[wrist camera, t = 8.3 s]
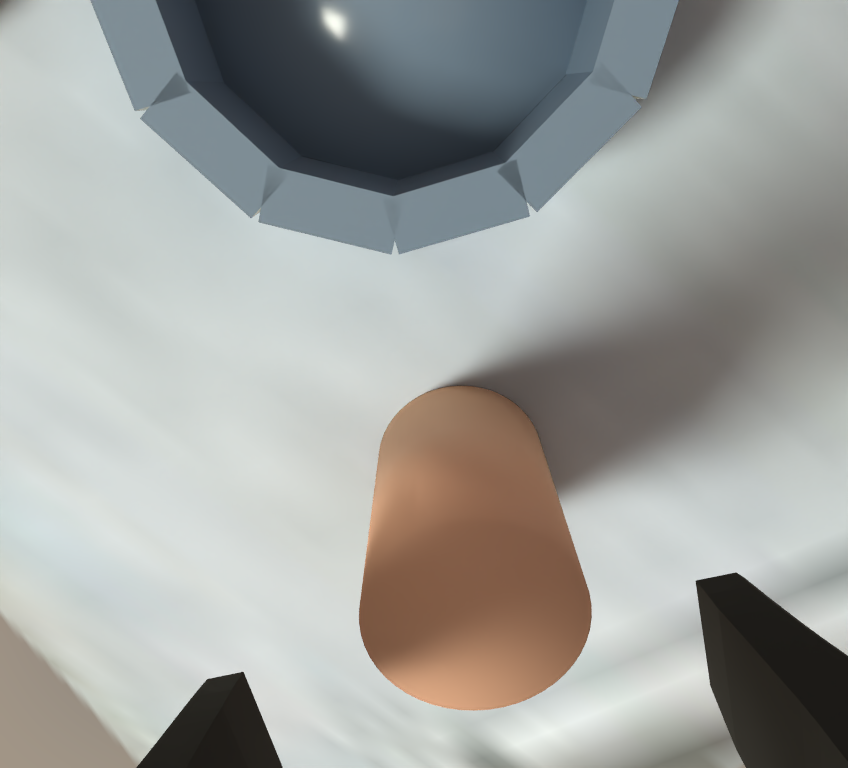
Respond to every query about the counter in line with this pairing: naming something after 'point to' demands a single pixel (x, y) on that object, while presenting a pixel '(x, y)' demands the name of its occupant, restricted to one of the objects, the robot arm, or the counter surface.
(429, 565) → the peg
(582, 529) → the counter surface
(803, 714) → the robot arm
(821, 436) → the counter surface
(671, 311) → the counter surface
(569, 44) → the bowl
